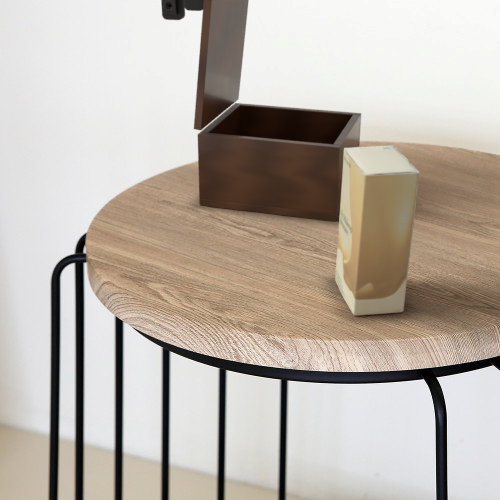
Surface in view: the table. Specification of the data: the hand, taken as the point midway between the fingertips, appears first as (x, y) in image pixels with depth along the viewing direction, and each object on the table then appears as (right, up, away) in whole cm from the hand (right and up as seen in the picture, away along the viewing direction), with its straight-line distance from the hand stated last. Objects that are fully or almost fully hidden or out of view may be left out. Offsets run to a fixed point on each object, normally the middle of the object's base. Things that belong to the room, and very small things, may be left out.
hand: (184, 13), depth 82 cm
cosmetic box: (+17, -29, -16) cm, 37 cm away
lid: (+4, -3, 0) cm, 5 cm away
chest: (+10, -18, +5) cm, 21 cm away
